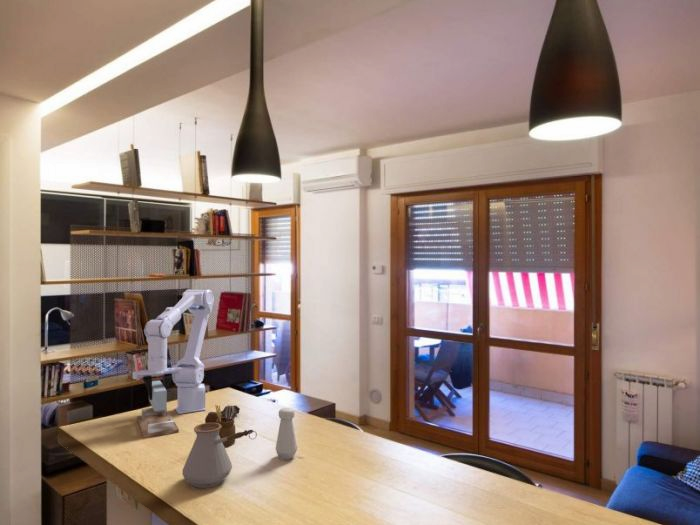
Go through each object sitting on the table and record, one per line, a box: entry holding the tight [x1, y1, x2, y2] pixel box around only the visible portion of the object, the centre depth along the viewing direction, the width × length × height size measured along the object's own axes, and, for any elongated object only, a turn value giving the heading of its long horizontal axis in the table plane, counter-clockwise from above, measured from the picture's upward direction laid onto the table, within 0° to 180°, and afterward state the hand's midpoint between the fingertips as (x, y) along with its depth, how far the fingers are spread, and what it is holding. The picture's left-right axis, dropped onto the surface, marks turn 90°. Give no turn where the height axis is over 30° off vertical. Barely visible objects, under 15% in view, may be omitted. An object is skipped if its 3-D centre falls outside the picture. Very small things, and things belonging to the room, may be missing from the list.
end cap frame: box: [136, 406, 180, 439], centre depth 149 cm, size 10×20×4 cm, turn 30°
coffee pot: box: [182, 423, 258, 489], centre depth 108 cm, size 21×12×15 cm, turn 57°
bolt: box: [204, 405, 241, 423], centre depth 154 cm, size 6×5×15 cm
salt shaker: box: [275, 407, 298, 461], centre depth 125 cm, size 6×6×13 cm
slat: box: [148, 380, 168, 411], centre depth 150 cm, size 4×15×6 cm, turn 30°
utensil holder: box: [214, 403, 236, 447], centre depth 134 cm, size 6×6×12 cm
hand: (157, 398), depth 150 cm, fingers closed on slat, 3 cm apart
